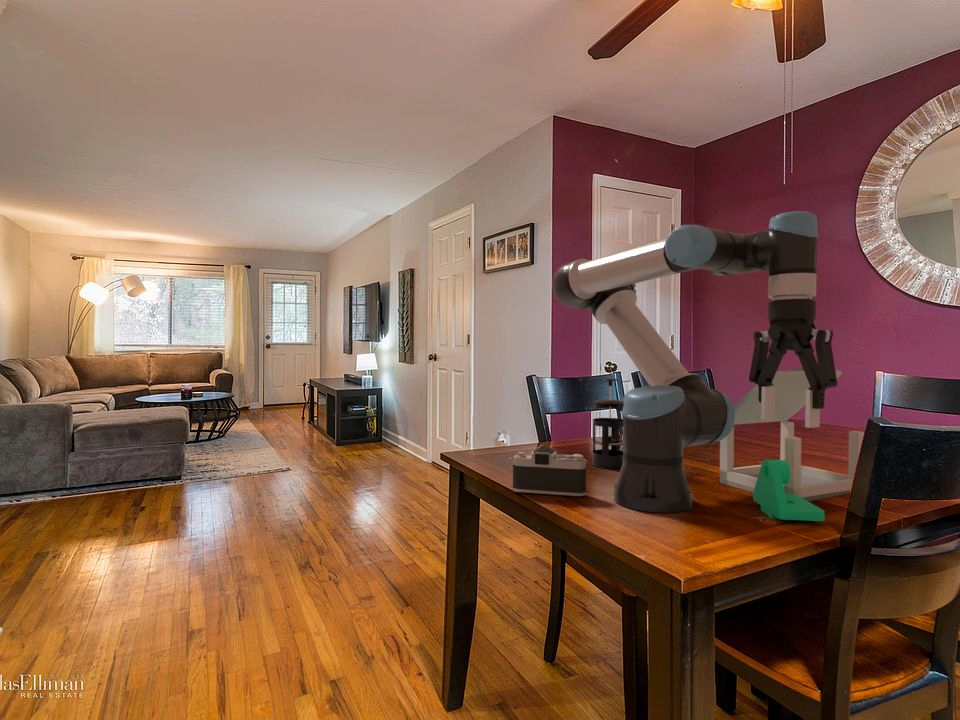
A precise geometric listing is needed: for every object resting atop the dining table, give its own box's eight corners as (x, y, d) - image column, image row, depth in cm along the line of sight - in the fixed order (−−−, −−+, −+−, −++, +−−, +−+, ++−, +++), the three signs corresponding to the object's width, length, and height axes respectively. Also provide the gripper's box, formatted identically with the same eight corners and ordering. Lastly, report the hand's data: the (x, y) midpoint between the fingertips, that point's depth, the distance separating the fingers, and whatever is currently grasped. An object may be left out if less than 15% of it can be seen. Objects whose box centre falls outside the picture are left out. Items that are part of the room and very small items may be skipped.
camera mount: (826, 527, 89) (827, 468, 89) (779, 525, 90) (780, 466, 90) (794, 507, 101) (795, 454, 101) (753, 505, 102) (753, 453, 102)
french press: (622, 470, 130) (623, 380, 130) (586, 466, 135) (586, 379, 135) (633, 462, 141) (634, 378, 140) (599, 458, 145) (600, 377, 145)
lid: (773, 375, 106) (766, 366, 108) (720, 425, 119) (715, 417, 120) (842, 373, 115) (835, 366, 116) (786, 420, 127) (780, 413, 129)
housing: (793, 503, 102) (794, 438, 102) (719, 482, 119) (720, 426, 119) (863, 492, 111) (864, 432, 111) (785, 474, 128) (786, 421, 127)
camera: (588, 487, 115) (588, 442, 115) (586, 497, 107) (587, 449, 107) (517, 482, 119) (518, 439, 119) (511, 492, 111) (511, 445, 110)
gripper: (866, 295, 86) (862, 431, 87) (756, 304, 105) (754, 415, 106) (836, 293, 83) (833, 433, 84) (729, 303, 102) (727, 417, 103)
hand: (789, 423), depth 95 cm, fingers open, 8 cm apart
